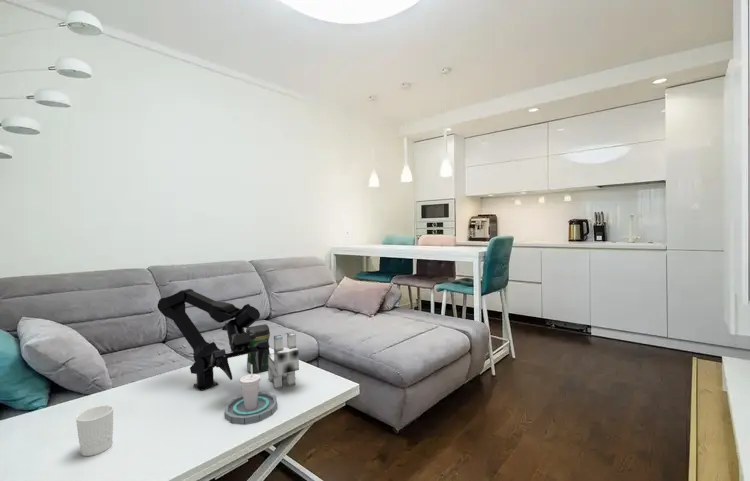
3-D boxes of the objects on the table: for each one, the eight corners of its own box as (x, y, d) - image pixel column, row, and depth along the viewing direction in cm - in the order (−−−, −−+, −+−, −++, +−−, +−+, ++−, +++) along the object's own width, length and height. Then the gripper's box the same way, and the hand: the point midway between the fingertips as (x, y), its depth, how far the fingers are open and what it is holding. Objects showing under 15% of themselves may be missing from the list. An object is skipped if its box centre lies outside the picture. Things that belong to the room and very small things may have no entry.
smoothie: (260, 410, 111) (258, 367, 111) (238, 413, 110) (237, 369, 110) (262, 401, 118) (261, 360, 117) (242, 403, 116) (241, 362, 116)
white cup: (92, 440, 99) (90, 406, 99) (121, 438, 100) (119, 404, 99) (70, 459, 91) (68, 421, 91) (102, 456, 92) (100, 419, 91)
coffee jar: (268, 363, 152) (266, 321, 152) (273, 369, 146) (272, 326, 145) (245, 368, 147) (243, 325, 146) (249, 375, 141) (247, 330, 140)
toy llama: (285, 372, 142) (284, 324, 141) (299, 390, 127) (298, 336, 126) (267, 377, 139) (265, 327, 138) (279, 395, 124) (277, 340, 123)
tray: (215, 412, 113) (215, 406, 113) (259, 393, 125) (259, 387, 125) (241, 430, 103) (241, 423, 103) (286, 407, 115) (286, 401, 115)
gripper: (211, 327, 115) (219, 372, 107) (267, 318, 126) (278, 357, 118) (207, 344, 122) (214, 387, 114) (261, 334, 133) (271, 372, 124)
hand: (246, 375), depth 117 cm, fingers open, 9 cm apart
